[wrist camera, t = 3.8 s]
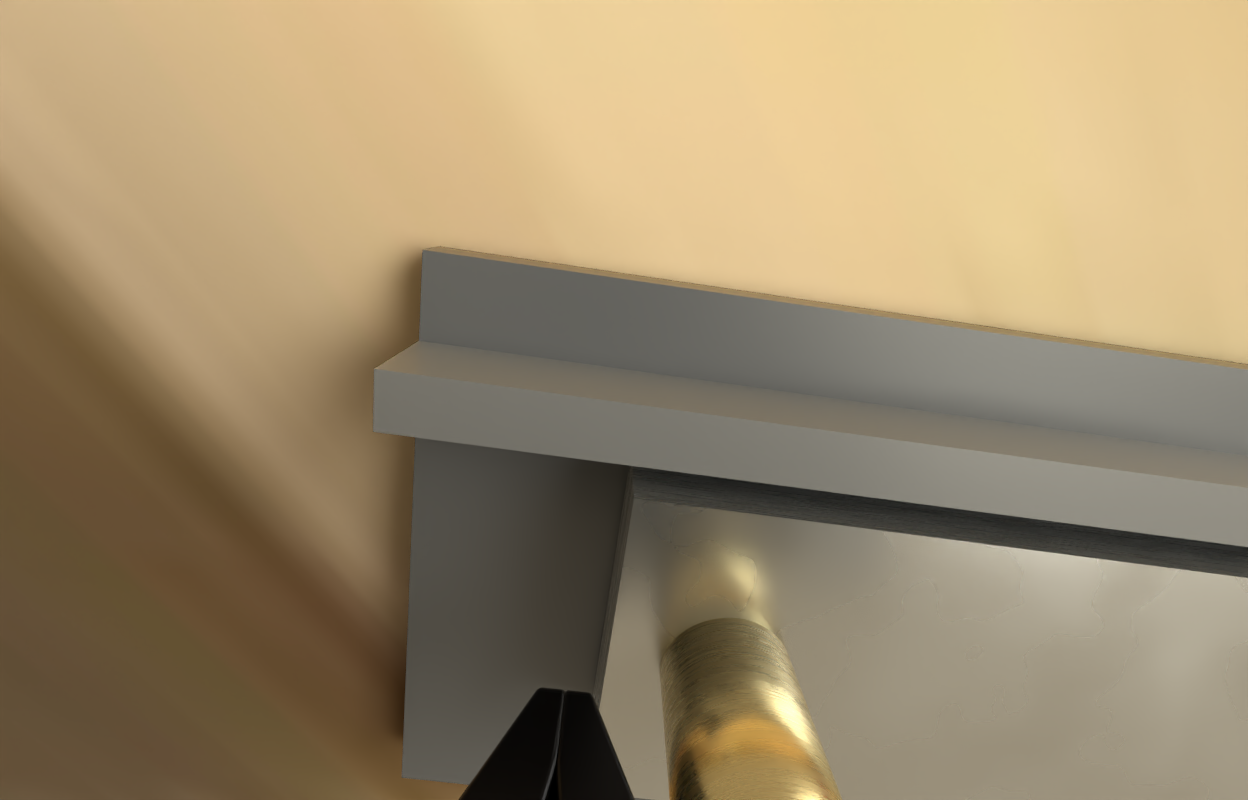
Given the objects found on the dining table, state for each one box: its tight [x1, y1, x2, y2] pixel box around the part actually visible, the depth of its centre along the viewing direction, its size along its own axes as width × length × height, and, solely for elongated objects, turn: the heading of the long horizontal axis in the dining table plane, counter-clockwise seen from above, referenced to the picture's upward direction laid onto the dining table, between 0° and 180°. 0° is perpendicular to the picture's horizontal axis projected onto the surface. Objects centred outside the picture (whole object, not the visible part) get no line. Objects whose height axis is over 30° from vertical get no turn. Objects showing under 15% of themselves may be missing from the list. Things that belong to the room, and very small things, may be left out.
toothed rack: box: [593, 466, 1248, 800], centre depth 10 cm, size 8×18×6 cm, turn 82°
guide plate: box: [373, 247, 1248, 800], centre depth 12 cm, size 12×29×3 cm, turn 82°
